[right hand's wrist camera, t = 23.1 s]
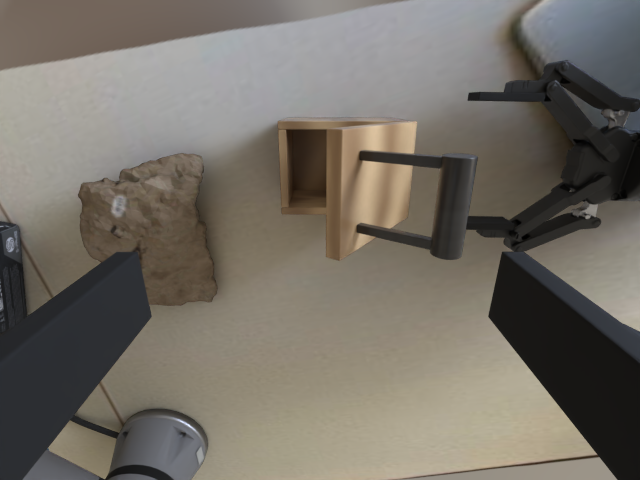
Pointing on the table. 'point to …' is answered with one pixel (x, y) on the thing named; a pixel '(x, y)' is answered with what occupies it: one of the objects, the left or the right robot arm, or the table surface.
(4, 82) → the table surface
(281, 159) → the chest
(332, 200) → the lid
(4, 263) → the graphics card box
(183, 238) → the stone
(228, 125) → the table surface
